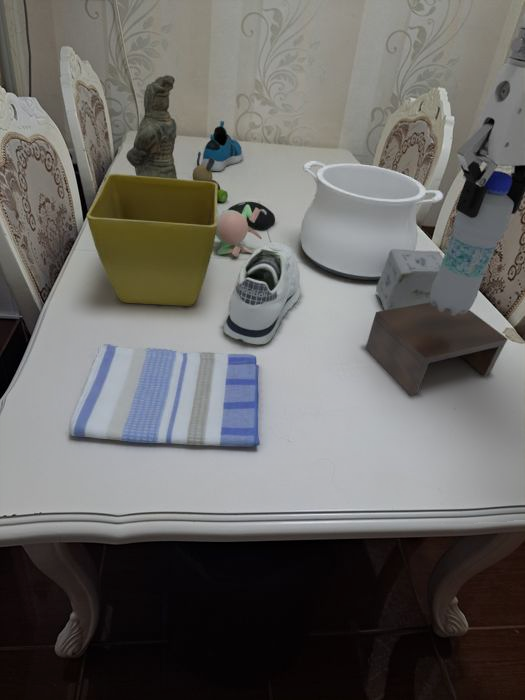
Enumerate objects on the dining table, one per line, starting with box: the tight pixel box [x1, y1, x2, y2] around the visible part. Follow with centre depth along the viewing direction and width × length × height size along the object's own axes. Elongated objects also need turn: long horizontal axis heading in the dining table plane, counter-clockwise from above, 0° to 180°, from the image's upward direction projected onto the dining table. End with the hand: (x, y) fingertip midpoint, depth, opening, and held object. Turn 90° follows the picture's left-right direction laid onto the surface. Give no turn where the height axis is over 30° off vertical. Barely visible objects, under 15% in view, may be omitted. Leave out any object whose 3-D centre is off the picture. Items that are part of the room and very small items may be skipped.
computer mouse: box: [227, 201, 276, 231], centre depth 116 cm, size 8×12×4 cm, turn 62°
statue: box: [125, 74, 178, 179], centre depth 102 cm, size 11×9×30 cm
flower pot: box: [86, 173, 218, 307], centre depth 84 cm, size 19×19×17 cm
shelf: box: [365, 302, 508, 397], centre depth 77 cm, size 12×16×7 cm
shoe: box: [201, 120, 243, 172], centre depth 148 cm, size 9×23×12 cm, turn 164°
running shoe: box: [223, 241, 301, 345], centre depth 85 cm, size 11×29×12 cm, turn 170°
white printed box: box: [375, 249, 444, 311], centre depth 89 cm, size 10×8×10 cm
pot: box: [299, 160, 444, 281], centre depth 101 cm, size 28×24×17 cm
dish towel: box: [68, 343, 260, 447], centre depth 65 cm, size 17×24×3 cm
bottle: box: [430, 170, 514, 315], centre depth 67 cm, size 7×7×20 cm
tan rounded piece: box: [192, 151, 229, 203], centre depth 122 cm, size 9×9×11 cm
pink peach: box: [215, 204, 262, 258], centre depth 102 cm, size 12×10×9 cm
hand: (485, 210), depth 64 cm, fingers closed on bottle, 6 cm apart
